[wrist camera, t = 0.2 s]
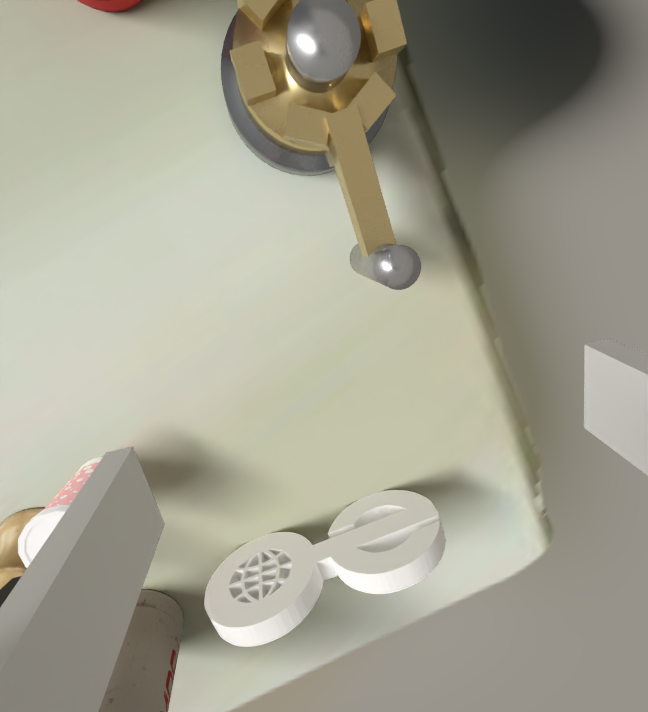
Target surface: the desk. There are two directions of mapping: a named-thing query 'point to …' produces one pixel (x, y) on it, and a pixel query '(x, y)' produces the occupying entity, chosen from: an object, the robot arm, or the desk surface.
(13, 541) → the hand bell
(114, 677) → the thermos bottle
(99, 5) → the canned food
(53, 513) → the beverage cup
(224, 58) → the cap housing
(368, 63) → the geared crank handle
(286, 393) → the desk surface
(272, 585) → the letter
